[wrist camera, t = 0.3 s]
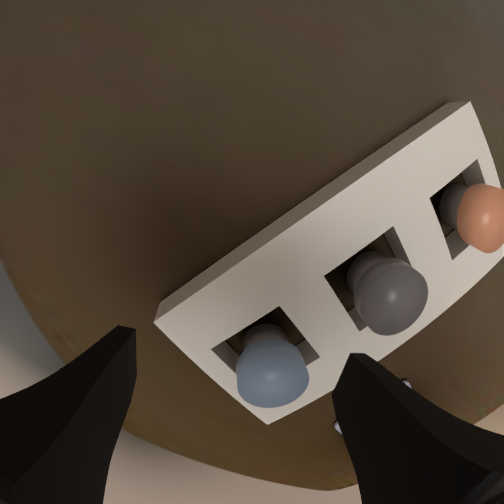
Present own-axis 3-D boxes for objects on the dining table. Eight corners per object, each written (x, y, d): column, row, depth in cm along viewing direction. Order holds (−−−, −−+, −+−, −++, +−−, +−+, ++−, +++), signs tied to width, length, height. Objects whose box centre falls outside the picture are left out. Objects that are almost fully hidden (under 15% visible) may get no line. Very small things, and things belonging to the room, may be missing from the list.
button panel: (494, 236, 20) (513, 245, 18) (263, 402, 24) (267, 424, 21) (447, 102, 17) (470, 101, 14) (160, 301, 20) (153, 322, 17)
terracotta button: (479, 213, 18) (517, 229, 14) (444, 244, 19) (481, 266, 15) (463, 166, 17) (504, 175, 13) (426, 196, 18) (466, 211, 14)
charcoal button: (402, 277, 19) (435, 306, 15) (355, 312, 20) (380, 347, 16) (380, 231, 18) (415, 253, 14) (328, 268, 19) (352, 300, 15)
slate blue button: (305, 345, 20) (321, 385, 17) (257, 374, 21) (263, 416, 17) (273, 305, 19) (285, 344, 15) (222, 338, 20) (222, 381, 16)
